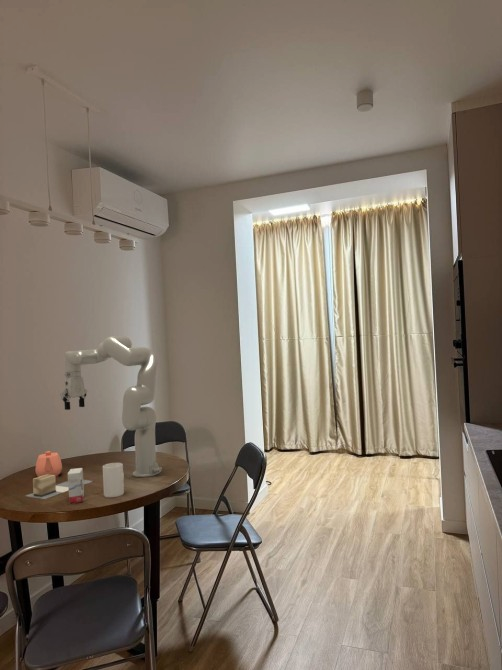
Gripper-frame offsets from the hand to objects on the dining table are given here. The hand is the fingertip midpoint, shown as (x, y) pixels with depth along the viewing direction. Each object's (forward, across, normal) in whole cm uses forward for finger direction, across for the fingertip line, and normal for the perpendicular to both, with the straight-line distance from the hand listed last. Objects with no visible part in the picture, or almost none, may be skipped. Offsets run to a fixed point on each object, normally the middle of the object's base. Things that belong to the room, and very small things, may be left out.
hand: (74, 408), depth 244 cm
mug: (+31, -29, -48) cm, 64 cm away
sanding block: (+30, -40, -22) cm, 55 cm away
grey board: (+31, -32, -23) cm, 50 cm away
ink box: (+31, -40, -40) cm, 64 cm away
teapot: (+31, -17, +1) cm, 35 cm away
